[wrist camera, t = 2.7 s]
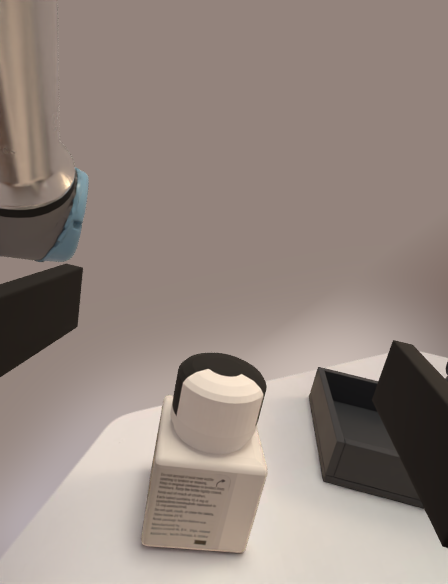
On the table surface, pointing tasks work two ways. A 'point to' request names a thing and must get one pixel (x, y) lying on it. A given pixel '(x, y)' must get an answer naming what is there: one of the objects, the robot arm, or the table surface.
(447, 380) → the mug
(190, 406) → the container
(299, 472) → the table surface
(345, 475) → the tub
